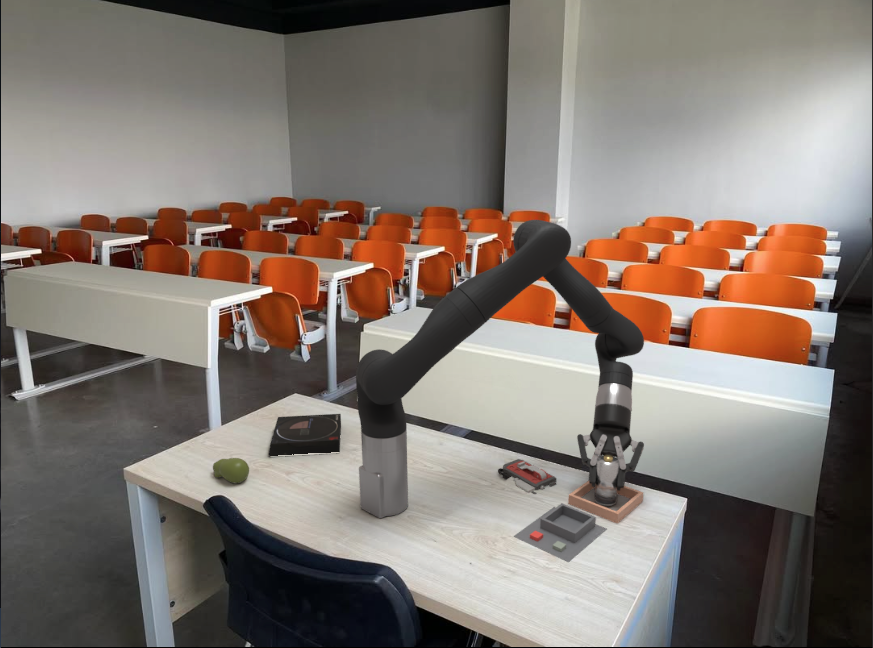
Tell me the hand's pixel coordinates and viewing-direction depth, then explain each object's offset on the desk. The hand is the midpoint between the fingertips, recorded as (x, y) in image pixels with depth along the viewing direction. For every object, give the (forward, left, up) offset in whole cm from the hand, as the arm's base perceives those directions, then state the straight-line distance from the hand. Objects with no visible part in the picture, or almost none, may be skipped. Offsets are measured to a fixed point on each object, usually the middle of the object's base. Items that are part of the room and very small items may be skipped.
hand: (606, 487), depth 134 cm
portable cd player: (-19, +74, -7) cm, 77 cm away
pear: (-43, +71, -6) cm, 83 cm away
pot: (+2, +1, -6) cm, 6 cm away
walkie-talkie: (-1, +16, -7) cm, 17 cm away
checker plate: (-14, +2, -6) cm, 15 cm away
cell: (+2, +1, -4) cm, 4 cm away
